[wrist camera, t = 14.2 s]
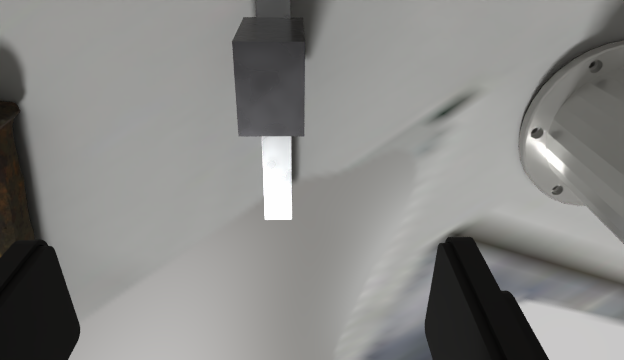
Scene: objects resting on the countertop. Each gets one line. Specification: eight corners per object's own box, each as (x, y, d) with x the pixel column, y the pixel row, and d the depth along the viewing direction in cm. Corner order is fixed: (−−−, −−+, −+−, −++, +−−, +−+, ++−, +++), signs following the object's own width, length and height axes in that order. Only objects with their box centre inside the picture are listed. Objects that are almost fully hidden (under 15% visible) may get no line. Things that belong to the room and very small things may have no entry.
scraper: (302, -174, 25) (306, -210, 18) (301, 201, 37) (303, 272, 30) (237, -175, 25) (214, -212, 18) (257, 201, 37) (248, 273, 30)
